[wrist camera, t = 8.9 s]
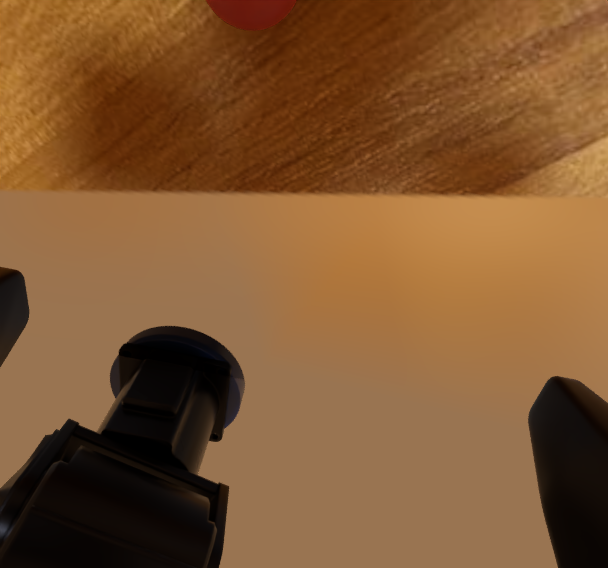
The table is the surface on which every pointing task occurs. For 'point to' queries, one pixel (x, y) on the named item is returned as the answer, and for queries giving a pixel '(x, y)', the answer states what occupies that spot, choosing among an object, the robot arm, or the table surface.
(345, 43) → the table surface
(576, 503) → the robot arm
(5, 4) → the table surface
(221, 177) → the table surface
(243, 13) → the switch lever
